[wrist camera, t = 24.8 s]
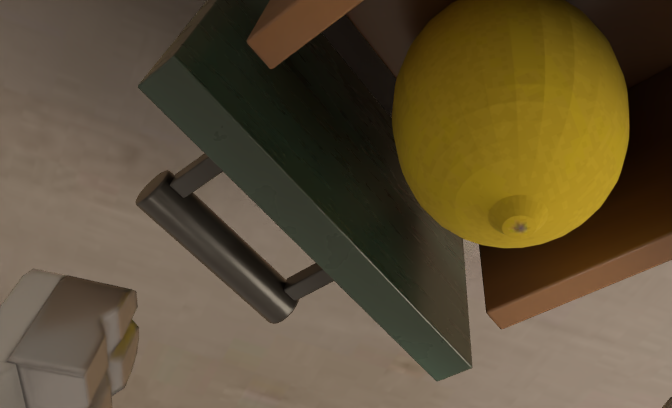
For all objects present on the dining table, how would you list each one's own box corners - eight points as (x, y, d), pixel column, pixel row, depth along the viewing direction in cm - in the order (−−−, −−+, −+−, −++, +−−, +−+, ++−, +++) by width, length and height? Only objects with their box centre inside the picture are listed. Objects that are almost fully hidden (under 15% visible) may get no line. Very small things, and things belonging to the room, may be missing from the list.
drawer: (335, 268, 27) (307, 432, 20) (128, 62, 22) (11, 193, 16) (865, -12, 18) (1101, 124, 12) (710, -451, 13) (963, -614, 7)
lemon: (626, 53, 19) (710, 260, 13) (459, 135, 21) (468, 337, 16) (540, -109, 16) (598, 63, 10) (361, 9, 18) (328, 198, 13)
